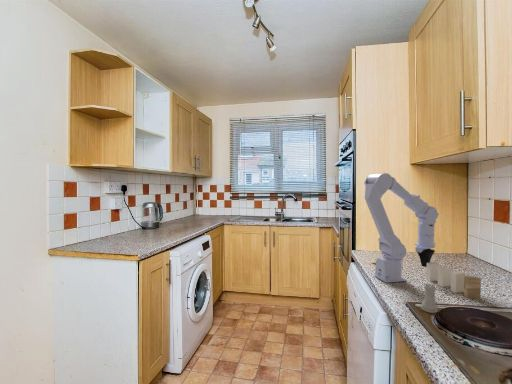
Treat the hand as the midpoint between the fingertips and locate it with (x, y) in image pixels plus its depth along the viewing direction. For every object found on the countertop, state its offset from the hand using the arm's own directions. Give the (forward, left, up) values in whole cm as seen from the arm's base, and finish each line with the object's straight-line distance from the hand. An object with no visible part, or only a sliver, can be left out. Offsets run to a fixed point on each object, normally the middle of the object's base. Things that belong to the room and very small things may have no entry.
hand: (425, 266), depth 113 cm
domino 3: (0, -15, -4) cm, 15 cm away
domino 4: (0, -20, -4) cm, 20 cm away
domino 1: (0, -4, -4) cm, 6 cm away
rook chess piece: (-22, -25, -5) cm, 33 cm away
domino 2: (0, -9, -4) cm, 10 cm away
